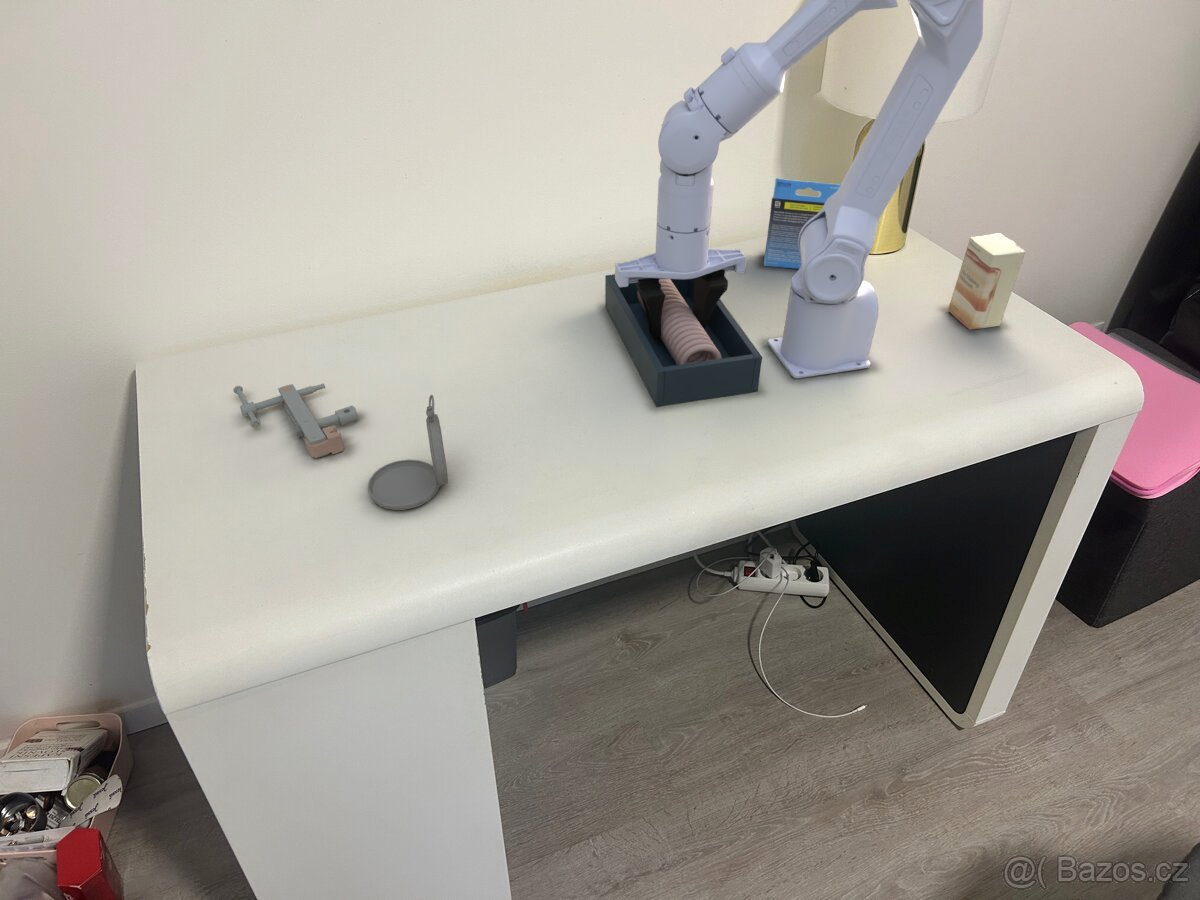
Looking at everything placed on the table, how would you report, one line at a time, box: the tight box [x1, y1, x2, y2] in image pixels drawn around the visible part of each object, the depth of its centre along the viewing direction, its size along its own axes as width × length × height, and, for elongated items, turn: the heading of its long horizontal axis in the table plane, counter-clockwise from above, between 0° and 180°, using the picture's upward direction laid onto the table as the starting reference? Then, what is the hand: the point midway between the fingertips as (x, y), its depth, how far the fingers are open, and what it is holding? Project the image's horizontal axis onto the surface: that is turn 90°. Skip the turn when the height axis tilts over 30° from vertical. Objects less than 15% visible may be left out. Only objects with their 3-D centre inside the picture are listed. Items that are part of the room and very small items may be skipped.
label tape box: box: [763, 177, 841, 270], centre depth 112 cm, size 9×4×12 cm, turn 77°
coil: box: [637, 279, 722, 365], centre depth 98 cm, size 5×5×18 cm
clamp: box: [232, 383, 359, 459], centre depth 88 cm, size 15×2×10 cm
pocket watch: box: [367, 394, 449, 511], centre depth 77 cm, size 8×8×10 cm
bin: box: [604, 273, 763, 408], centre depth 98 cm, size 12×22×4 cm, turn 14°
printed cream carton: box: [947, 232, 1027, 331], centre depth 101 cm, size 5×4×10 cm
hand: (676, 332), depth 98 cm, fingers closed on coil, 5 cm apart
